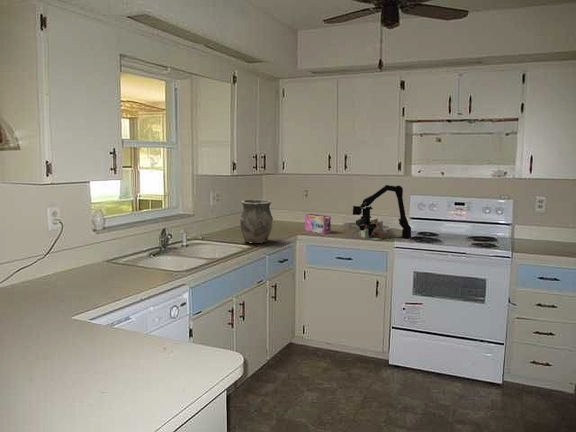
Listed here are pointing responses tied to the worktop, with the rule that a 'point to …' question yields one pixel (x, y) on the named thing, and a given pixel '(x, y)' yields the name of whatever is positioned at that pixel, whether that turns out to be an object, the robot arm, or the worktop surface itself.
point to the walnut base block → (381, 234)
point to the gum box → (318, 223)
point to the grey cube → (387, 230)
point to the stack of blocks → (378, 223)
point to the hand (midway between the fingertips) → (365, 235)
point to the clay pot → (256, 220)
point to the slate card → (375, 239)
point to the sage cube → (364, 233)
